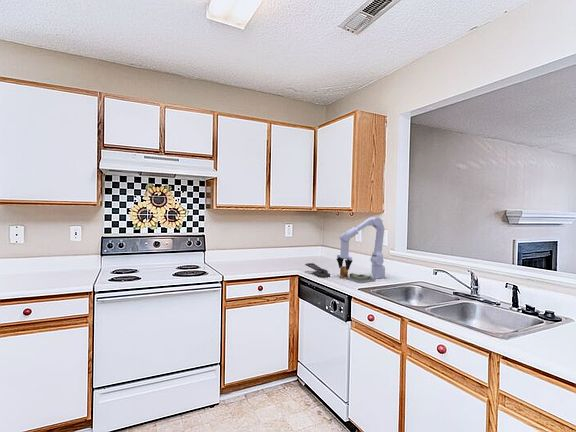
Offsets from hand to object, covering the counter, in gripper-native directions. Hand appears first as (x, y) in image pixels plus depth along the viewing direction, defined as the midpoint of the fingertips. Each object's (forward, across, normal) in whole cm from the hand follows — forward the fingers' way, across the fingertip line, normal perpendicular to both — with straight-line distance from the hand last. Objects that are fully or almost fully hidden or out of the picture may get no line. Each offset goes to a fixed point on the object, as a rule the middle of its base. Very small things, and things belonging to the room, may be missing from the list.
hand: (344, 269), depth 237 cm
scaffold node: (+6, +10, +5) cm, 13 cm away
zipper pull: (+7, -17, -11) cm, 21 cm away
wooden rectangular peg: (+6, 0, 0) cm, 6 cm away
